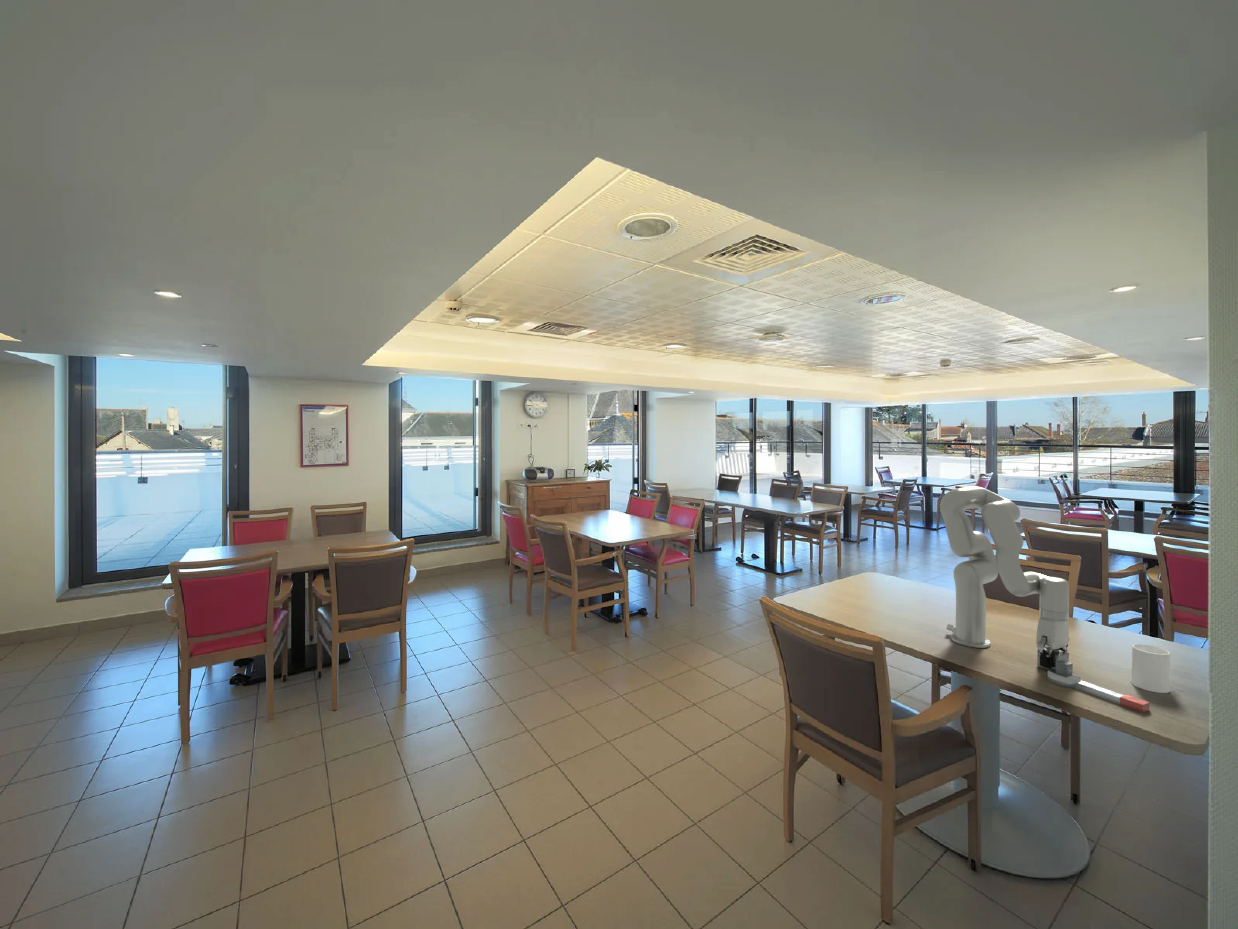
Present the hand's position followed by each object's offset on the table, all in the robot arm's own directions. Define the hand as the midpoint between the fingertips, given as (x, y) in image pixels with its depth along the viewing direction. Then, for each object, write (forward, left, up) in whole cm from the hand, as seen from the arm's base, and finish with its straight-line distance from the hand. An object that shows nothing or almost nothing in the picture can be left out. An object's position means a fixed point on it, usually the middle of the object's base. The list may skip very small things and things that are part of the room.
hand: (1053, 664), depth 170 cm
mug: (+20, +14, -2) cm, 24 cm away
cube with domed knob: (0, 0, -1) cm, 1 cm away
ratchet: (+15, -8, -1) cm, 17 cm away
